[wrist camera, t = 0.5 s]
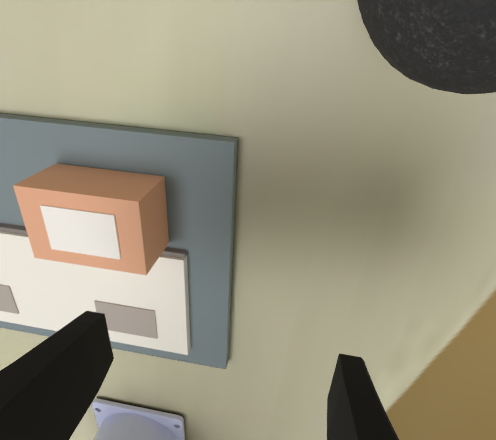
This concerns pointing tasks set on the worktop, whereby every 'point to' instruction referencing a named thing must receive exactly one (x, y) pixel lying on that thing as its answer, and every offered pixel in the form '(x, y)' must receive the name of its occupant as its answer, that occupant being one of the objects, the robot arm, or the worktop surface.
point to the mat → (177, 200)
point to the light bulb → (437, 41)
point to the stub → (95, 217)
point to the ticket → (96, 295)
